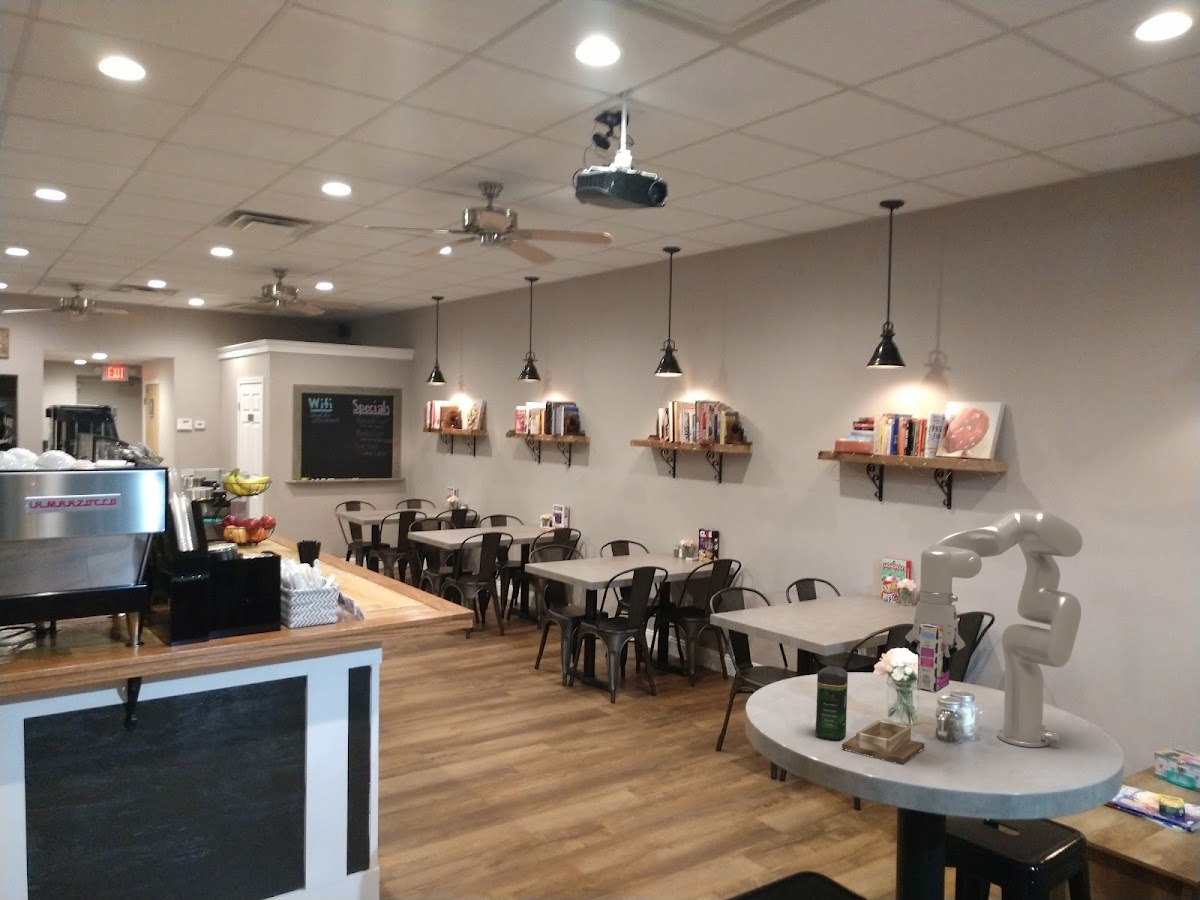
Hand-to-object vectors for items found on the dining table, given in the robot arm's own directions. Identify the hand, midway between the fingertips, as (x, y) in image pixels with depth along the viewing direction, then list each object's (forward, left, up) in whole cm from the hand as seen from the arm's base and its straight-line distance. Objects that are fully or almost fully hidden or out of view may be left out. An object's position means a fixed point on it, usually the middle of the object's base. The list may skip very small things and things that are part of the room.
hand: (934, 669), depth 221 cm
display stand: (+13, 0, -23) cm, 26 cm away
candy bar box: (0, 0, -5) cm, 5 cm away
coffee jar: (+28, -1, -24) cm, 36 cm away
